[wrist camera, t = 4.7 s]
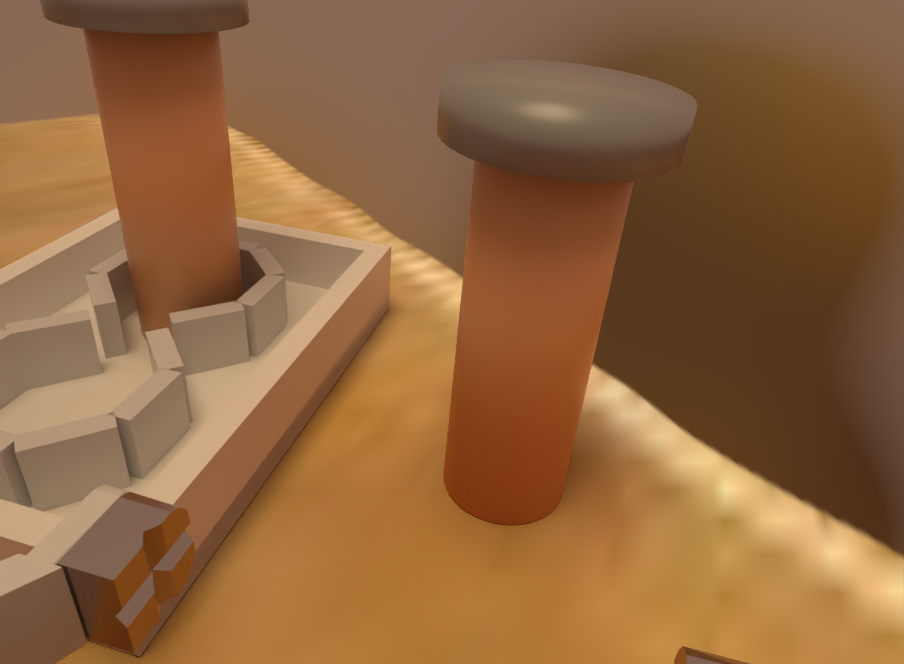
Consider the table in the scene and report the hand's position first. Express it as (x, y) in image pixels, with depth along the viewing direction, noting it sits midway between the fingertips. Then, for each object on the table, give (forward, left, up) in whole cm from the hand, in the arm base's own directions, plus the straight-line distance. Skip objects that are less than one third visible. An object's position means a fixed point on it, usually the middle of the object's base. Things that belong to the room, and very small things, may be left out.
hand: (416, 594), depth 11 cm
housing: (-19, -4, -8) cm, 21 cm away
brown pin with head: (-9, +8, -8) cm, 15 cm away
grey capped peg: (-22, -1, -7) cm, 23 cm away
